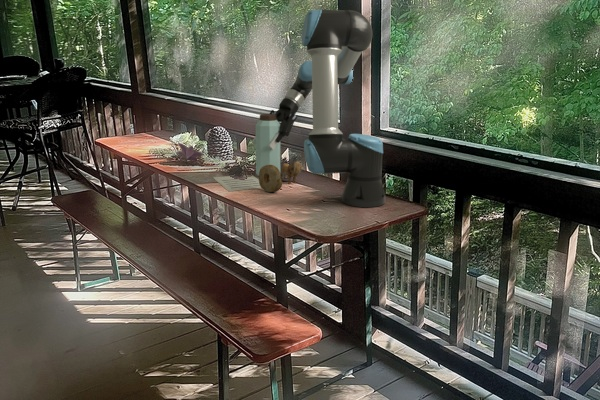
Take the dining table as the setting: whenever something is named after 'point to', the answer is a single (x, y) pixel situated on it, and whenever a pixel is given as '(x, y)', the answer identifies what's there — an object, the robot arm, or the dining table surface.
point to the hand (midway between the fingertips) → (262, 145)
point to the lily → (189, 153)
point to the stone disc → (270, 178)
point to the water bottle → (267, 142)
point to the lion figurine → (291, 171)
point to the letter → (238, 183)
